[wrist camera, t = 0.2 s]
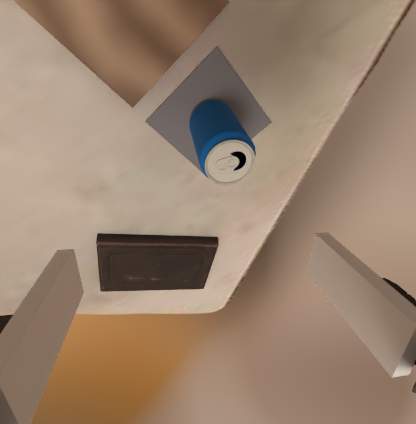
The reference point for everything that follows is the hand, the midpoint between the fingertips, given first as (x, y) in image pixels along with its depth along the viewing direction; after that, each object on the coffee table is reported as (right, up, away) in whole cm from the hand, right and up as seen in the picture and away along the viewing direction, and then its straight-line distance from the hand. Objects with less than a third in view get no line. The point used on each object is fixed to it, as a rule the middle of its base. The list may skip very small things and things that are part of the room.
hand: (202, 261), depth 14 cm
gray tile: (+1, +16, +23) cm, 28 cm away
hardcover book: (-11, -7, +41) cm, 43 cm away
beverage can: (+1, +16, +23) cm, 28 cm away
